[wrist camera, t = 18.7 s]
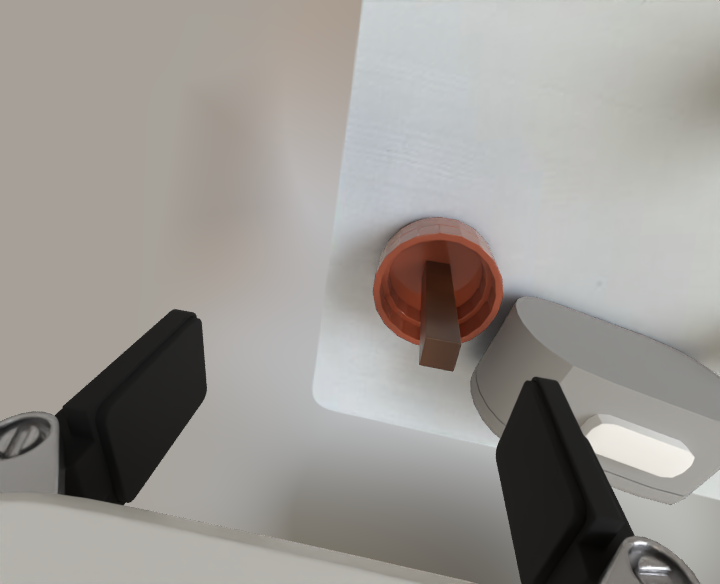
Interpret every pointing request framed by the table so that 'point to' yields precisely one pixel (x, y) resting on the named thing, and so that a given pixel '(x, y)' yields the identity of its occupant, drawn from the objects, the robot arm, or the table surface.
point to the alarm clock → (610, 395)
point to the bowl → (445, 245)
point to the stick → (438, 318)
